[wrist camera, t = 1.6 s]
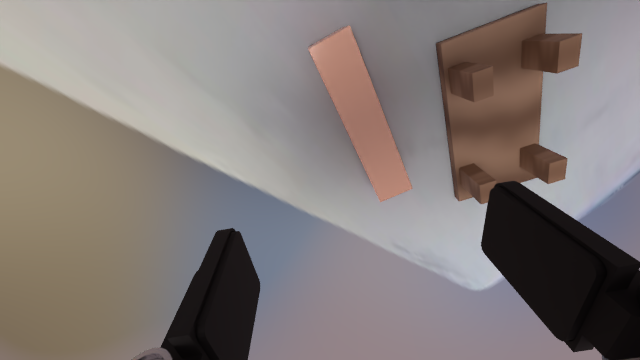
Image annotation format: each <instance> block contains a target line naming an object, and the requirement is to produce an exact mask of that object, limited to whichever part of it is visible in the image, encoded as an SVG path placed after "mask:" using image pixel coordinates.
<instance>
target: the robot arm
mask: <svg viewBox="0 0 640 360" xmlns="http://www.w3.org/2000/svg"><path fill="white" fill-rule="evenodd" d="M481 247H482V250H483V252H484V254H485V255H486V256H487V257H488V258H489V260H490V261H491V262H492V263H493V264H494V265H495V267H496V268H497V269H498V270H499V271H500V272H501V274H502V275H503V276H504V277H505V278H506V279H507V281H508V282H509V283H510V284H511V285H512V286H513V287H514V289H515V290H516V291H517V292H518V293H519V295H520V296H521V297H522V298H523V299H524V300H525V302H526V303H527V304H528V305H529V306H530V308H531V309H532V310H533V311H534V312H535V313H536V315H537V316H538V317H539V318H540V319H541V320H542V322H543V323H544V324H545V325H546V326H547V328H548V329H549V330H550V331H551V332H552V333H553V334H554V336H555V337H556V338H558V339H559V340H561V341H564V342H565V343H566V344H567V345H568V346H569V348H571V350H572V351H573V352H578V351H584V350H592V349H593V347H595V348H596V349H597V350H598V351H599V352H600V353H601V354H602V360H640V271H639V270H638V269H639V268H640V262H639V261H638V260H636V259H635V258H633V257H631V256H630V255H629V254H627V253H625V252H624V251H622V250H621V249H619V248H618V247H616V246H615V245H613V244H612V243H610V242H609V241H607V240H606V239H604V238H603V237H601V236H600V235H598V234H596V233H595V232H593V231H592V230H590V229H589V228H587V227H586V226H584V225H583V224H581V223H580V222H578V221H577V220H575V219H574V218H572V217H571V216H569V215H567V214H566V213H564V212H563V211H561V210H560V209H558V208H557V207H555V206H554V205H552V204H551V203H549V202H548V201H546V200H545V199H543V198H542V197H540V196H538V195H537V194H535V193H534V192H532V191H531V190H529V189H528V188H526V187H525V186H523V185H522V184H520V183H519V182H517V181H508V182H502V183H497V184H495V186H494V188H492V189H491V190H490V194H489V200H488V206H487V212H486V218H485V224H484V230H483V236H482V242H481ZM259 293H260V281H259V278H258V276H257V273H256V271H255V268H254V266H253V264H252V261H251V258H250V256H249V253H248V251H247V248H246V246H245V243H244V241H243V238H242V236H241V233H240V232H239V231H235V230H234V229H233V228H231V229H225V230H219V231H217V232H216V233H215V236H214V238H213V240H212V242H211V244H210V246H209V249H208V251H207V253H206V255H205V258H204V260H203V262H202V264H201V266H200V268H199V270H198V271H197V272H196V274H195V275H194V277H193V279H192V281H191V283H190V285H189V288H188V290H187V292H186V294H185V296H184V298H183V300H182V303H181V305H180V307H179V309H178V311H177V313H176V315H175V317H174V320H173V322H172V324H171V326H170V328H169V330H168V333H167V335H166V337H165V339H164V341H163V343H162V345H161V347H160V348H152V349H149V350H146V351H144V352H142V353H140V354H139V355H137V356H135V357H134V358H133V359H132V360H248V355H249V349H250V343H251V338H252V332H253V326H254V321H255V315H256V310H257V304H258V298H259Z"/></svg>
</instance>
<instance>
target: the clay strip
mask: <svg viewBox="0 0 640 360" xmlns="http://www.w3.org/2000/svg"><path fill="white" fill-rule="evenodd" d="M308 50H309V52H310V54H311V56H312V58H313V60H314V63H315V65H316V67H317V69H318V71H319V73H320V75H321V77H322V79H323V82H324V84H325V86H326V88H327V90H328V92H329V94H330V96H331V99H332V101H333V103H334V105H335V107H336V109H337V111H338V113H339V115H340V118H341V120H342V122H343V124H344V126H345V128H346V130H347V132H348V135H349V137H350V139H351V141H352V143H353V145H354V147H355V149H356V151H357V154H358V156H359V158H360V160H361V162H362V164H363V166H364V168H365V171H366V173H367V175H368V177H369V179H370V181H371V183H372V185H373V188H374V190H375V192H376V194H377V196H378V198H379V200H380V202H382V201H384V200H387V199H389V198H391V197H394V196H396V195H398V194H401V193H403V192H405V191H408V190H410V189H412V186H411V183H410V181H409V178H408V175H407V173H406V170H405V168H404V165H403V162H402V160H401V157H400V155H399V152H398V149H397V147H396V144H395V142H394V139H393V136H392V134H391V131H390V129H389V126H388V123H387V121H386V118H385V116H384V113H383V110H382V108H381V105H380V103H379V100H378V97H377V95H376V92H375V90H374V87H373V84H372V82H371V79H370V77H369V74H368V71H367V69H366V66H365V64H364V61H363V58H362V56H361V53H360V51H359V48H358V46H357V43H356V40H355V38H354V35H353V33H352V30H351V27H350V25H349V26H345V27H342V28H340V29H339V30H337V31H335V32H334V33H332V34H330V35H328V36H327V37H325V38H323V39H321V40H320V41H318V42H316V43H314V44H313V45H311V46H309V47H308Z"/></svg>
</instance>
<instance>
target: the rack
mask: <svg viewBox="0 0 640 360" xmlns="http://www.w3.org/2000/svg"><path fill="white" fill-rule="evenodd" d="M546 11H547V3H542V4H537V5H534V6H532V7H529V8H526V9H524V10H521V11H519V12H516V13H513V14H511V15H508V16H506V17H503V18H500V19H498V20H495V21H493V22H490V23H488V24H485V25H482V26H480V27H477V28H475V29H472V30H469V31H467V32H464V33H462V34H459V35H456V36H454V37H451V38H449V39H446V40H443V41H441V42H438V43H436V48H437V56H438V64H439V72H440V80H441V88H442V96H443V104H444V112H445V120H446V128H447V136H448V144H449V152H450V160H451V168H452V176H453V184H454V192H455V197H456V198H457V200H458V201H462V200H466V199H469V198H472V197H474V198H475V199H476V200H477V201H478V202H479V203H480V204H484V203H487V202H488V200H489V194H490V190H491V189H492V188H494V186H495V184H497V183H502V182H508V181H517V182H519V183H521V182H524V181H528V180H531V179H534V178H539V179H541V180H542V181H544V182H546V183H547V184H550V183H553V182H556V181H560V180H563V179H565V174H566V166H567V158H566V157H564V156H561V155H559V154H557V153H555V152H553V151H551V150H549V149H546V148H544V147H542V146H540V145H539V132H540V115H541V97H542V80H543V71H545V72H551V73H560V72H562V71H565V70H568V69H571V68H574V67H577V66H578V65H579V56H580V48H581V39H582V33H580V34H545V28H546Z"/></svg>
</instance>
